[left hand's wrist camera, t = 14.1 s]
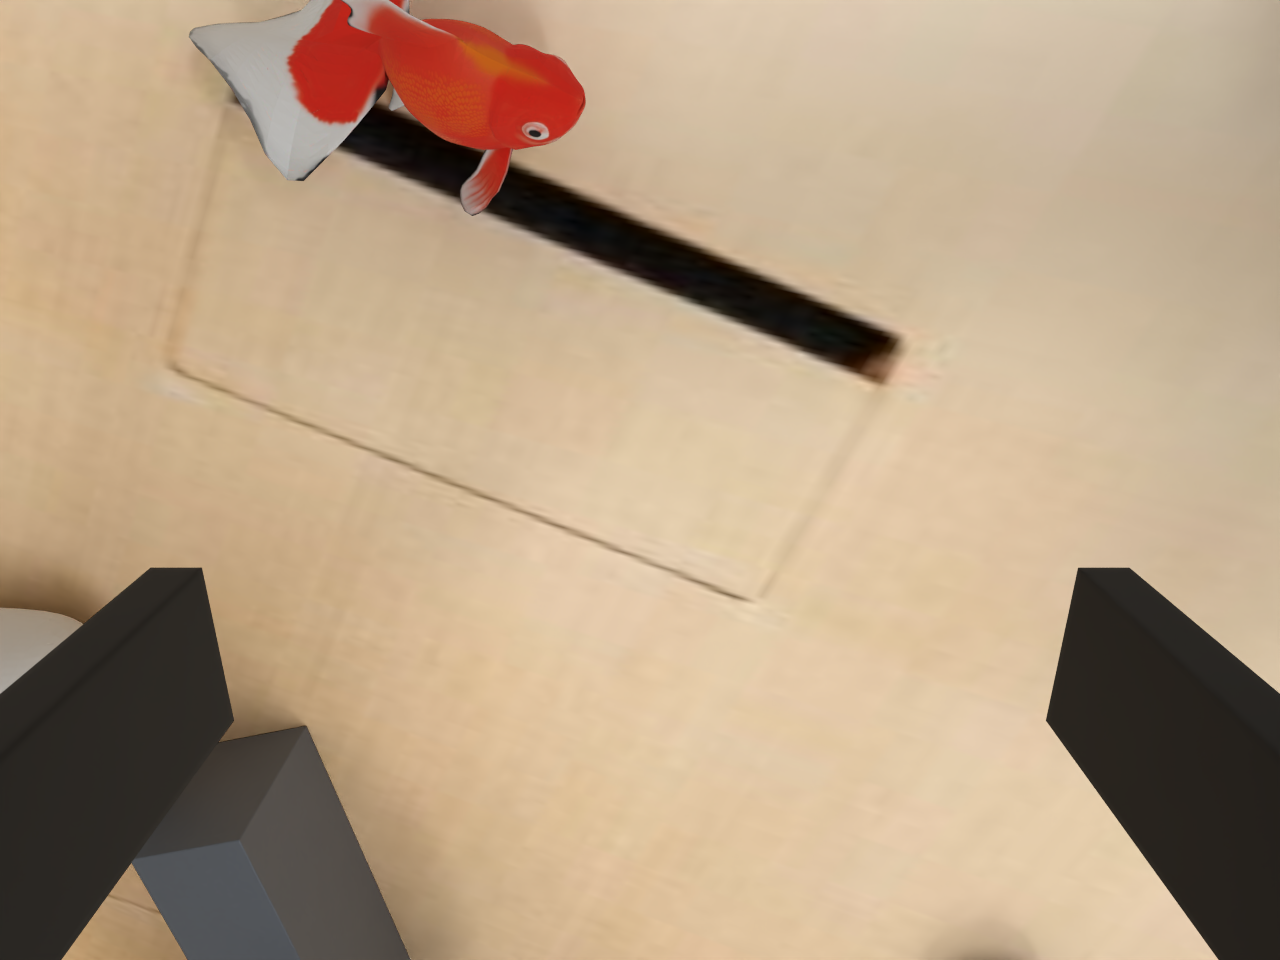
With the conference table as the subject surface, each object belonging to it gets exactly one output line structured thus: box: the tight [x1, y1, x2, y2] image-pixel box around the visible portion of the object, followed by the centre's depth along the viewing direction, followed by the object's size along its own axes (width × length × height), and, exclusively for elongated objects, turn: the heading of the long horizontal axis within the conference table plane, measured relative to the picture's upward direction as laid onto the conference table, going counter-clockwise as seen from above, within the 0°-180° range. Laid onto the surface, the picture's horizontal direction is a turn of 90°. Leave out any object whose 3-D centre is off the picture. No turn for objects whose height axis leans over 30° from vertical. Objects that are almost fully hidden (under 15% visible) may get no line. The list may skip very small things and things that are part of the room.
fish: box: [189, 0, 585, 216], centre depth 32 cm, size 11×16×10 cm
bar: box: [132, 726, 410, 960], centre depth 48 cm, size 23×6×9 cm, turn 12°
